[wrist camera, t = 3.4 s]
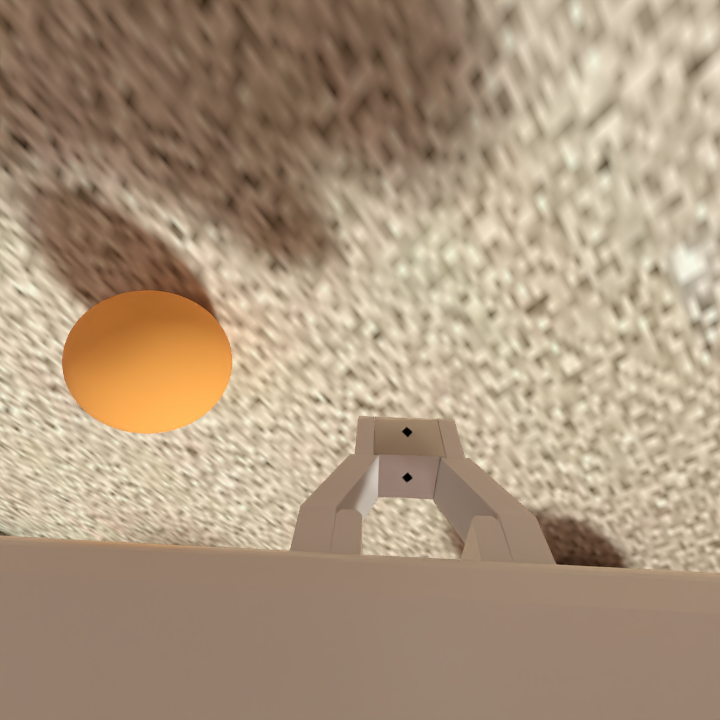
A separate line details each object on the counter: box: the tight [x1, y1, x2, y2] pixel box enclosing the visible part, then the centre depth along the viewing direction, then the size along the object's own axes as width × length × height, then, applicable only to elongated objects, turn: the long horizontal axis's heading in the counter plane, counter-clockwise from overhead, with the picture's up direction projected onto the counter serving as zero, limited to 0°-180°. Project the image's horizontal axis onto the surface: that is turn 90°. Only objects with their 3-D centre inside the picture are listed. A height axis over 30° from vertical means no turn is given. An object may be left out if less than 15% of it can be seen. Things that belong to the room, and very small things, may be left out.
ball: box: [62, 290, 232, 433], centre depth 13 cm, size 6×6×6 cm
